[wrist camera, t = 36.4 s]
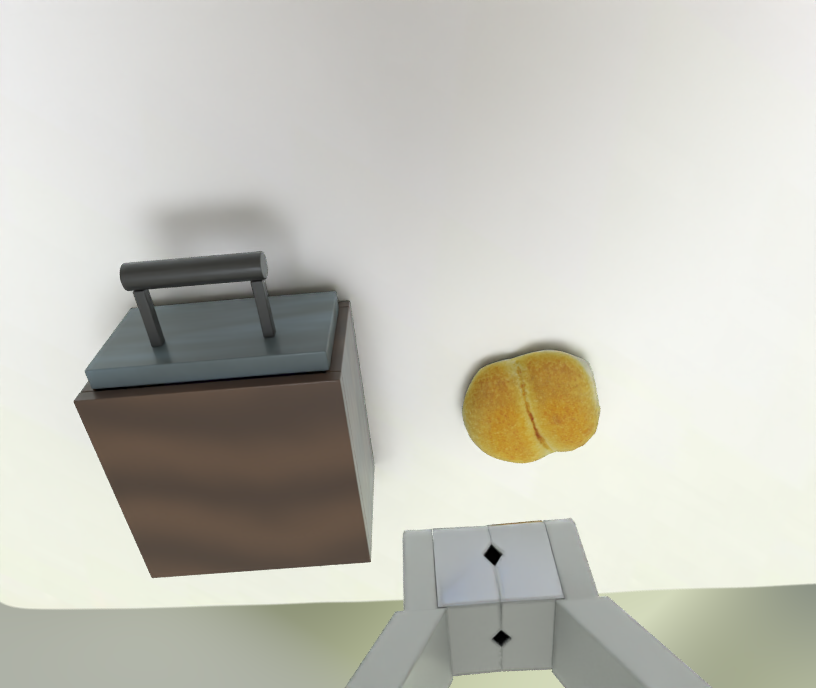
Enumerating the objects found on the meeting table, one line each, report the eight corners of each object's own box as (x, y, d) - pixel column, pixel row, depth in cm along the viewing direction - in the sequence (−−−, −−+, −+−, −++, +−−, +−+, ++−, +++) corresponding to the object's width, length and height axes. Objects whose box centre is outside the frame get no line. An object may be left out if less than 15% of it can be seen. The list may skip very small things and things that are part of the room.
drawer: (104, 233, 36) (48, 287, 30) (324, 214, 35) (310, 265, 30) (185, 464, 45) (154, 540, 39) (361, 450, 44) (357, 525, 38)
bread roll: (446, 369, 42) (450, 406, 39) (580, 329, 41) (597, 363, 37) (480, 459, 46) (487, 499, 43) (603, 425, 45) (620, 464, 41)
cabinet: (132, 318, 40) (72, 401, 32) (350, 300, 39) (340, 380, 32) (189, 480, 47) (151, 578, 39) (374, 466, 46) (370, 562, 39)
